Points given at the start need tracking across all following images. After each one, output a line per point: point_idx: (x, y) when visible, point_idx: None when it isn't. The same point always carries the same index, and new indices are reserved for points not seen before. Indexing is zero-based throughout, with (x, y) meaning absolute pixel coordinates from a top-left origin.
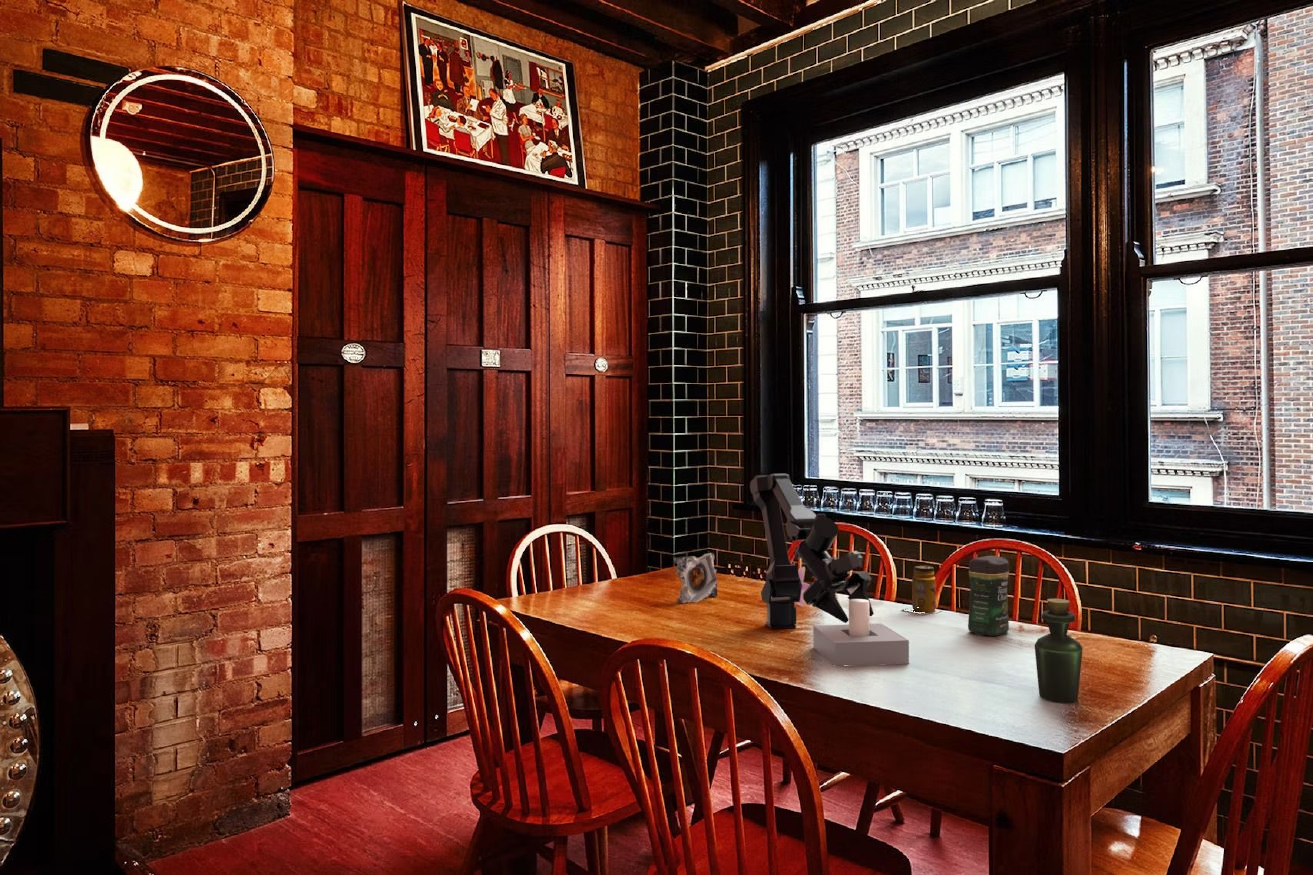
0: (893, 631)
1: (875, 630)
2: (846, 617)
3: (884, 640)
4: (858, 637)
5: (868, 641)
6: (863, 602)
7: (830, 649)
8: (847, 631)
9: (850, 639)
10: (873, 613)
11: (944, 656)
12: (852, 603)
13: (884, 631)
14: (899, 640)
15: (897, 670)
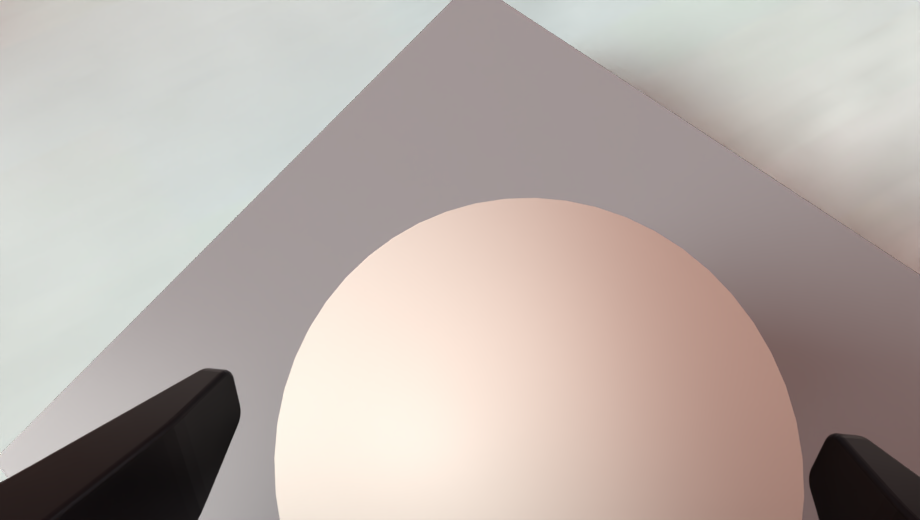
0: (262, 203)
1: None
2: (886, 461)
3: (617, 100)
4: None
5: (758, 174)
6: (624, 255)
7: None
8: None
9: (830, 339)
10: (209, 369)
11: (203, 31)
12: (788, 482)
13: (312, 259)
14: (529, 22)
15: (653, 68)
